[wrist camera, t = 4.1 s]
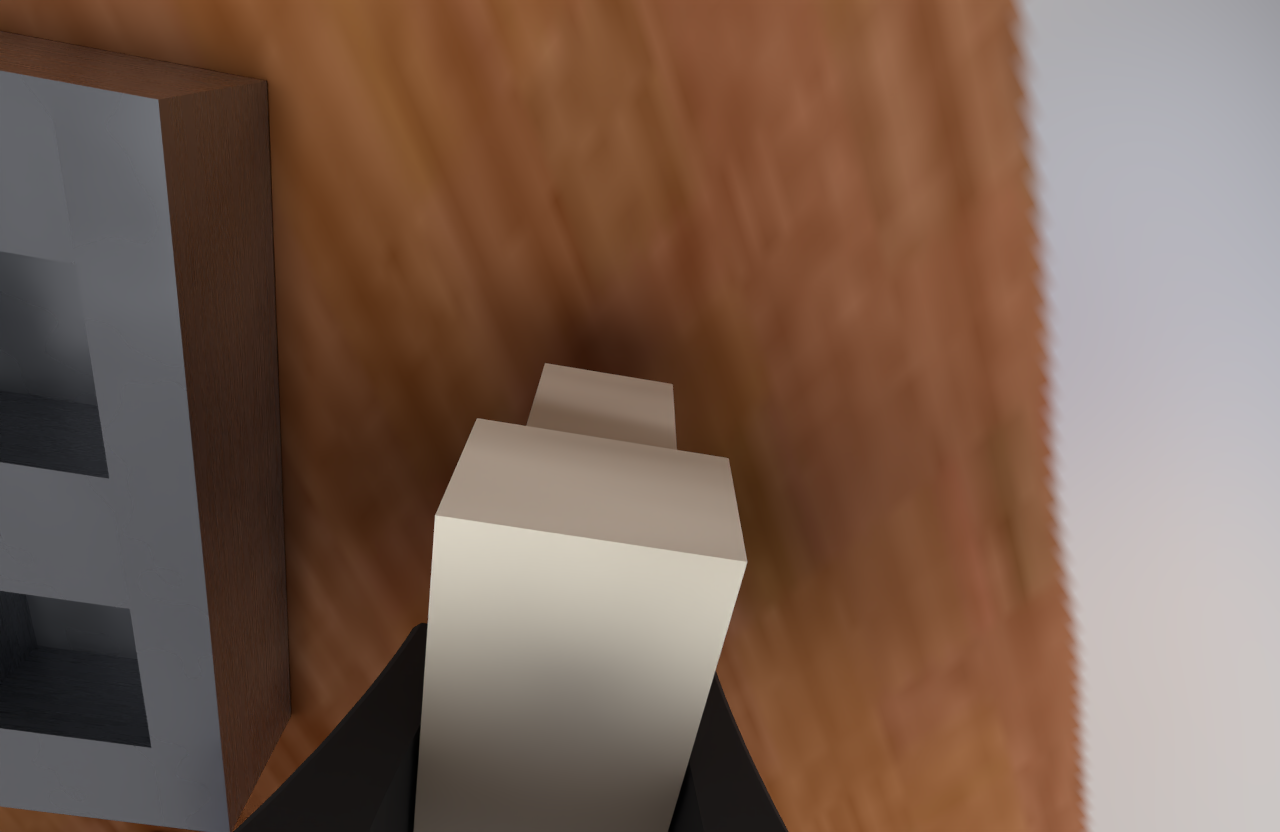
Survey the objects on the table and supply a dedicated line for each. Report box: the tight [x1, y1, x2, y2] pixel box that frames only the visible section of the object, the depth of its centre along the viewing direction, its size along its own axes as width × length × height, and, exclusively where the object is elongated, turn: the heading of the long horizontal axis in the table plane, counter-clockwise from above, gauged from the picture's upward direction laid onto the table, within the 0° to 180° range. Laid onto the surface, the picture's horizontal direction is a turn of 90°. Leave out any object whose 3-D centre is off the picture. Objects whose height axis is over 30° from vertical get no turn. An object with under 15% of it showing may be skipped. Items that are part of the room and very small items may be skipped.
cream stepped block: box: [414, 363, 747, 832], centre depth 12 cm, size 9×3×5 cm, turn 170°
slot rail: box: [0, 31, 291, 832], centre depth 14 cm, size 14×6×3 cm, turn 170°
